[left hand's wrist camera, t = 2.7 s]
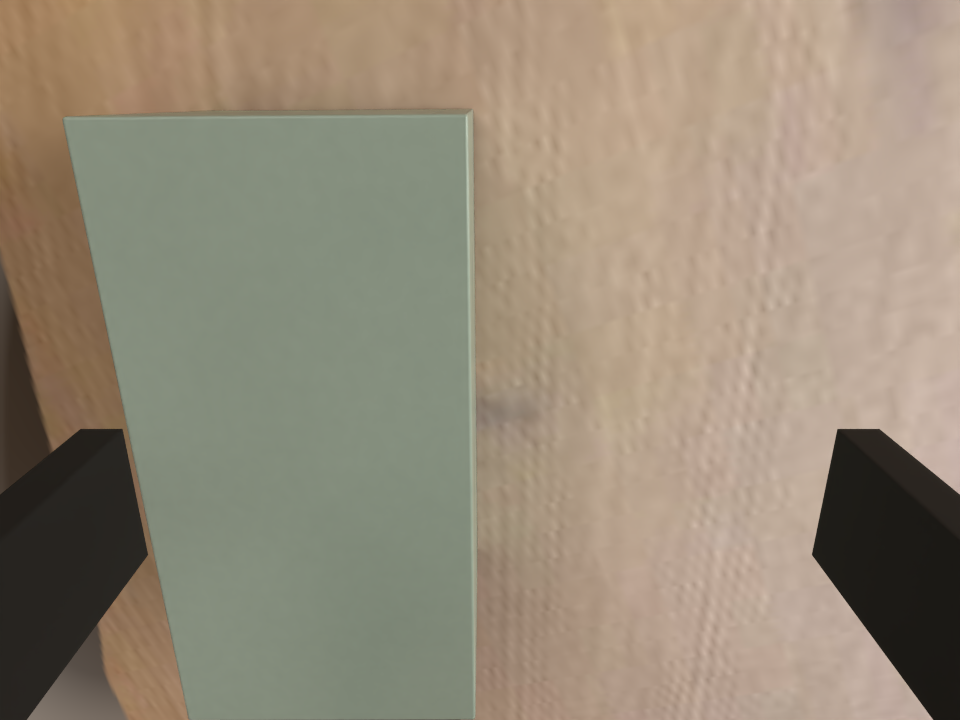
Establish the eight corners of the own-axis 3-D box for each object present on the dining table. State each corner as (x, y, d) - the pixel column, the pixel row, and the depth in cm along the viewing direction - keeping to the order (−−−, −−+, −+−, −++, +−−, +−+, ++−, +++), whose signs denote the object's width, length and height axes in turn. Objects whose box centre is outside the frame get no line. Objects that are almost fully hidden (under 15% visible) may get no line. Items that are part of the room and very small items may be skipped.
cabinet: (477, 550, 34) (475, 720, 25) (268, 551, 34) (187, 721, 25) (473, 108, 27) (468, 114, 17) (207, 110, 27) (60, 116, 17)
